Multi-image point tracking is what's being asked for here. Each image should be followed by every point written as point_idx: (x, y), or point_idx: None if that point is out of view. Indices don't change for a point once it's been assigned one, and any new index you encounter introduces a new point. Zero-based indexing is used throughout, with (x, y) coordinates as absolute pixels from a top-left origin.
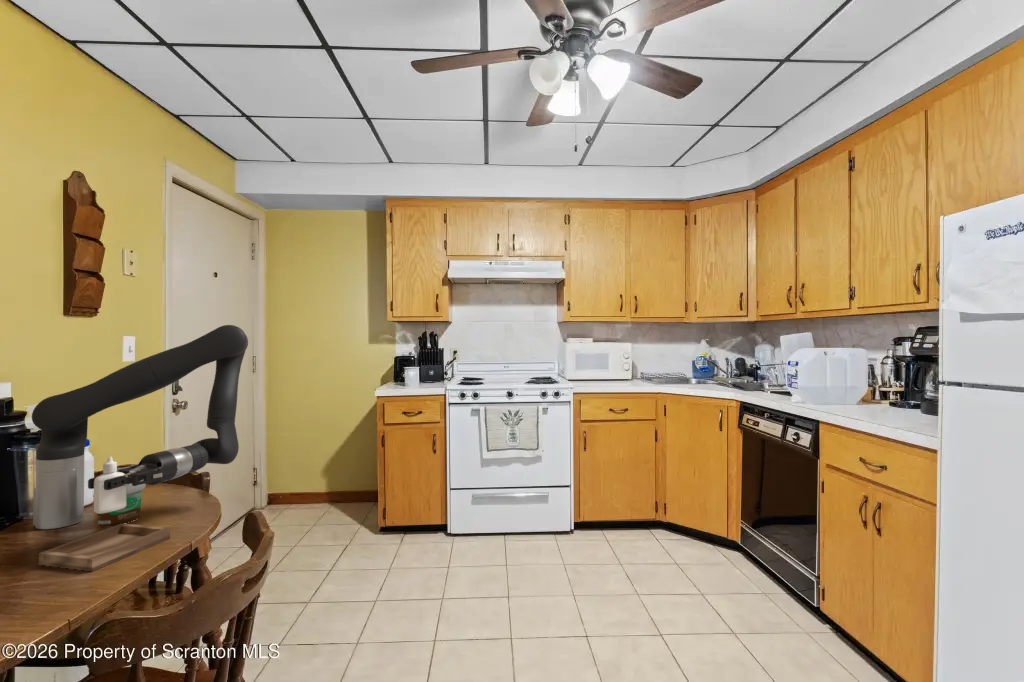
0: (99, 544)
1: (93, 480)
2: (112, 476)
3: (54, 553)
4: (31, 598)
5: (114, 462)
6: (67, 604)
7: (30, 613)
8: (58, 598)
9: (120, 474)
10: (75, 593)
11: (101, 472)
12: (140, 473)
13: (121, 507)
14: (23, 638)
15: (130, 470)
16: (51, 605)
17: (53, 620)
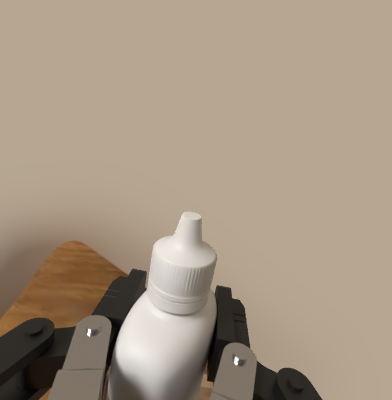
0: None
1: (215, 295)
2: (144, 292)
3: (208, 381)
4: None
5: (160, 246)
6: (66, 283)
7: (99, 271)
8: (89, 295)
9: (127, 319)
10: (73, 304)
11: (309, 382)
12: (2, 351)
13: None
14: (71, 243)
15: (101, 371)
16: (86, 282)
17: (61, 260)
